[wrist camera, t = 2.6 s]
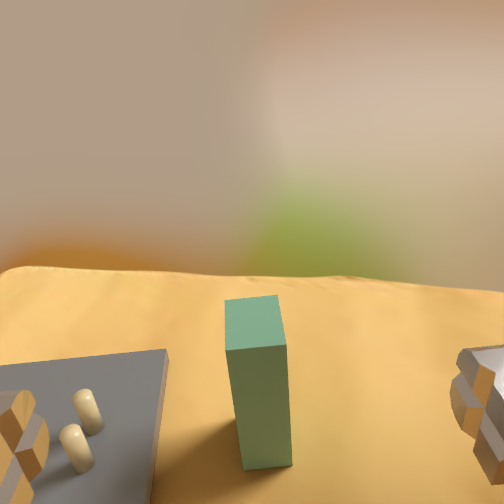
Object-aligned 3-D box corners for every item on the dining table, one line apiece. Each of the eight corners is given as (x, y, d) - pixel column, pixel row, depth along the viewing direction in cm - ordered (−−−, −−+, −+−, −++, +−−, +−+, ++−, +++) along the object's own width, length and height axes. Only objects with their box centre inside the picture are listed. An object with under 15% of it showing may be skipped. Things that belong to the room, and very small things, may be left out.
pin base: (168, 359, 36) (159, 319, 33) (137, 596, 22) (117, 554, 20) (-8, 377, 35) (-29, 338, 33) (-149, 627, 22) (-201, 588, 20)
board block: (284, 411, 31) (277, 294, 25) (292, 465, 27) (286, 344, 22) (240, 415, 31) (224, 300, 25) (243, 470, 27) (225, 350, 22)
